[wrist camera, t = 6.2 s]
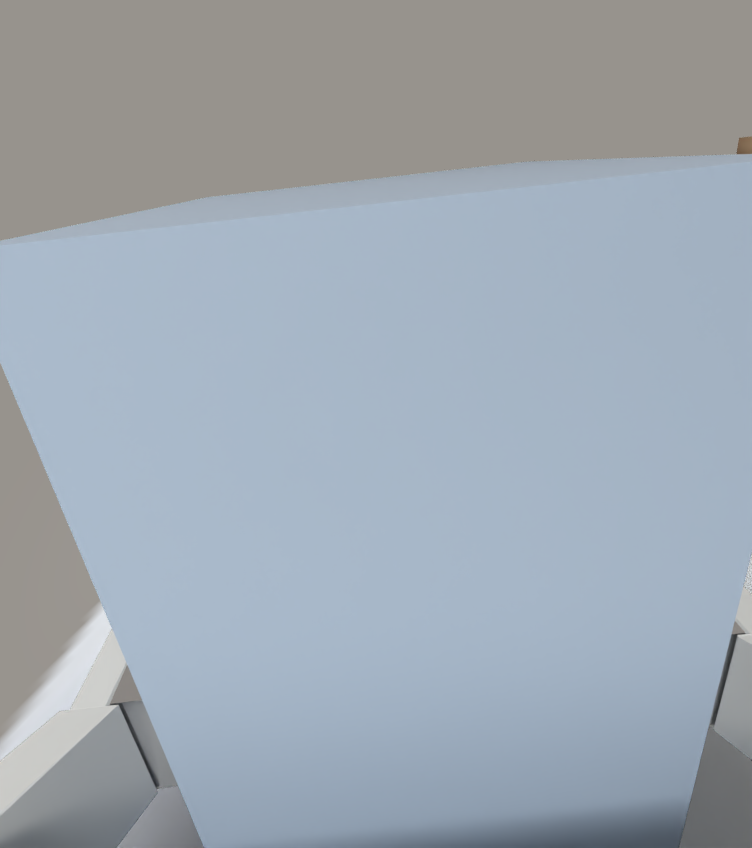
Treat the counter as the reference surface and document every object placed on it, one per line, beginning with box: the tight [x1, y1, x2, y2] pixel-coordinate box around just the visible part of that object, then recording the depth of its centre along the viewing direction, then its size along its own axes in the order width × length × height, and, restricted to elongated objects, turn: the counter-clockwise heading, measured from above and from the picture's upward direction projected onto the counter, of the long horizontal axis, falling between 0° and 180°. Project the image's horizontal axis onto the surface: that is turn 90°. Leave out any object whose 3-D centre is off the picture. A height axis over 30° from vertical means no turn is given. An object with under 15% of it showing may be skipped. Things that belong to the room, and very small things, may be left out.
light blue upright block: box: [0, 154, 752, 848], centre depth 9 cm, size 5×6×14 cm
